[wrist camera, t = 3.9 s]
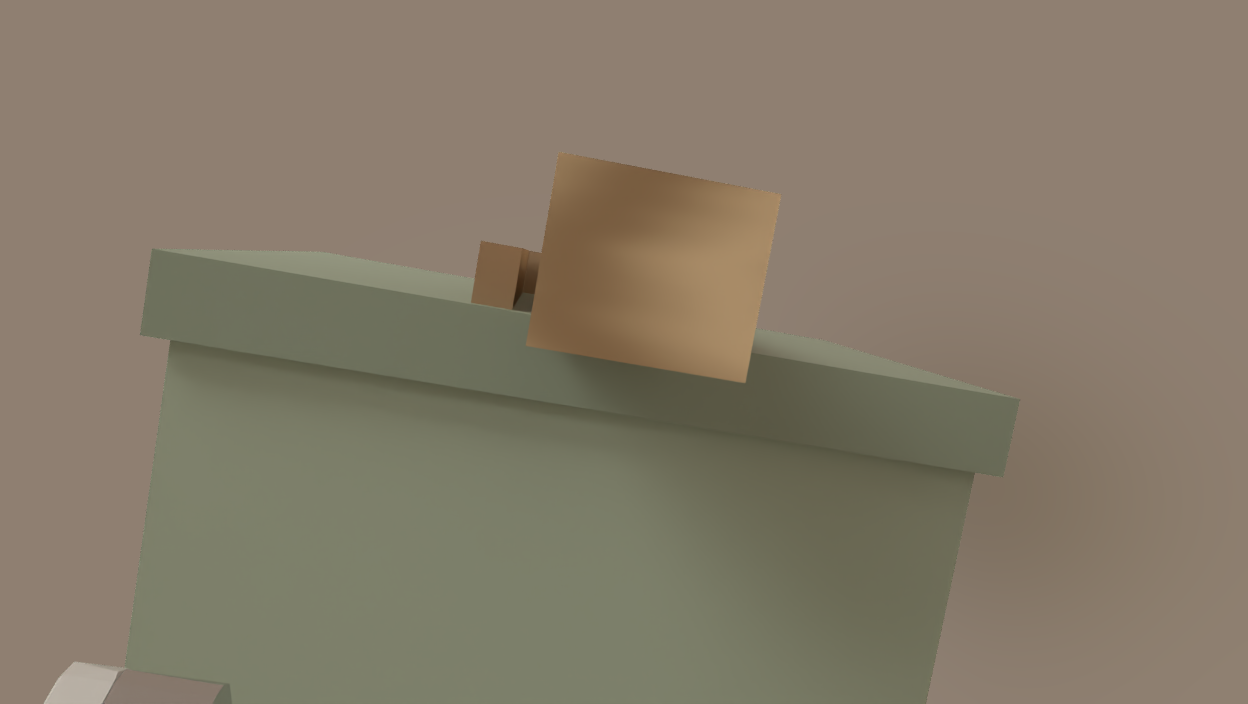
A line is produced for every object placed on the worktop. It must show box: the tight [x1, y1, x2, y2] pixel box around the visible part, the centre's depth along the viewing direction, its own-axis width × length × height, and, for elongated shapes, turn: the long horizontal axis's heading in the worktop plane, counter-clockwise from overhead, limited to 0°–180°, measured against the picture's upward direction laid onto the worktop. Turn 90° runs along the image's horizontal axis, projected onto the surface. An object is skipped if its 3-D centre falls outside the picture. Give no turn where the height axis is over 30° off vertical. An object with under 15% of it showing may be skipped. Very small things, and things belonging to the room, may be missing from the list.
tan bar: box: [526, 152, 781, 383], centre depth 24 cm, size 4×18×3 cm, turn 5°
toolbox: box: [125, 241, 1020, 704], centre depth 32 cm, size 21×17×28 cm
